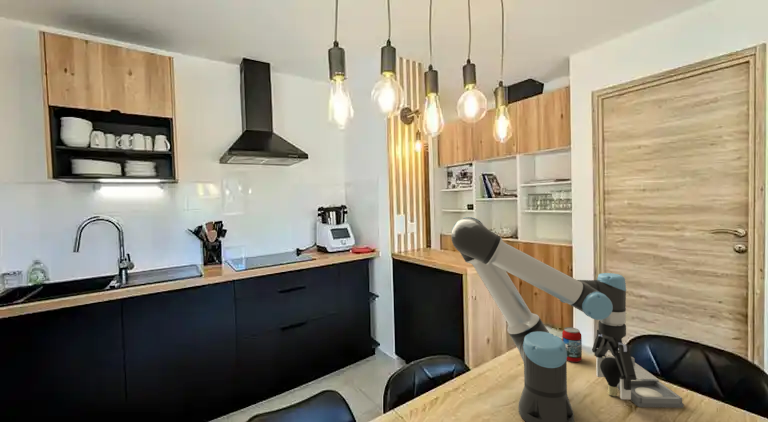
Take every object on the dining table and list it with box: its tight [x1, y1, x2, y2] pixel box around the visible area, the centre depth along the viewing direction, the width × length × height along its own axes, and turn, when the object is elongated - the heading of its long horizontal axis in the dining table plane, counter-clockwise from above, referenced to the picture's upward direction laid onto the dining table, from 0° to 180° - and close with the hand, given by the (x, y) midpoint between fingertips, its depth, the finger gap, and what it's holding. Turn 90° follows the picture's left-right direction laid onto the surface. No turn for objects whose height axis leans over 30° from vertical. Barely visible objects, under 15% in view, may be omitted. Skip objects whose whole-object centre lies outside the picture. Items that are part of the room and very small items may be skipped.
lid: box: [605, 356, 660, 382], centre depth 123 cm, size 13×12×3 cm
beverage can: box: [561, 326, 583, 363], centre depth 140 cm, size 7×7×12 cm
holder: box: [617, 380, 684, 409], centre depth 116 cm, size 13×18×3 cm
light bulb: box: [600, 356, 621, 397], centre depth 114 cm, size 7×7×12 cm
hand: (612, 387), depth 114 cm, fingers open, 13 cm apart
